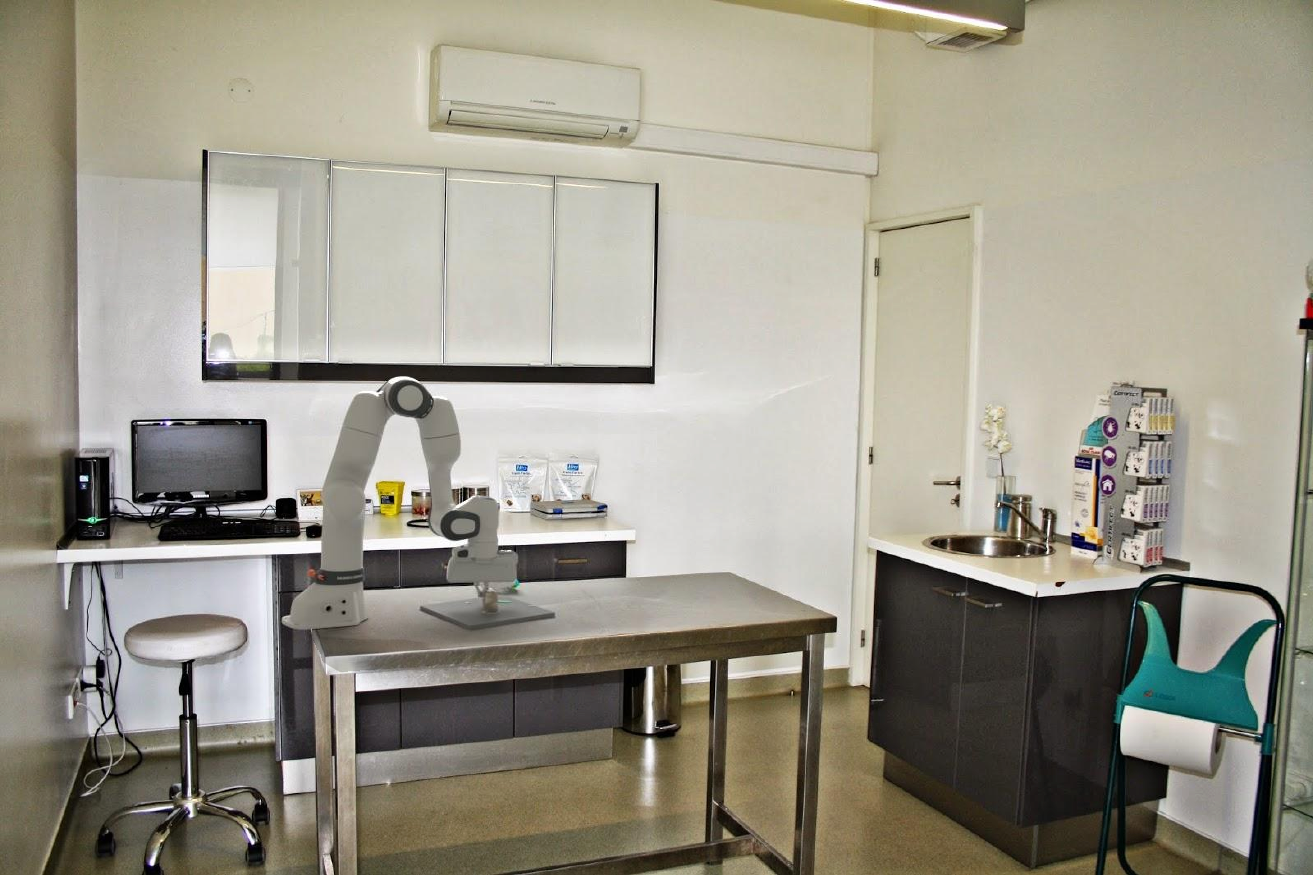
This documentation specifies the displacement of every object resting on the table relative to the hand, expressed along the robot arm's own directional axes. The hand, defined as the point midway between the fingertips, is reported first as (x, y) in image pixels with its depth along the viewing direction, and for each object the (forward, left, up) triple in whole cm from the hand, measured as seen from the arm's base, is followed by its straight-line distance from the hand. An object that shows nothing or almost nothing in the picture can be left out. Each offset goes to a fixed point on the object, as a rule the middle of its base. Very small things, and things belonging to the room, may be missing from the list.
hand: (481, 597), depth 293 cm
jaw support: (+20, +20, -4) cm, 28 cm away
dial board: (-1, -5, -4) cm, 6 cm away
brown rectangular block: (0, -4, -2) cm, 5 cm away
